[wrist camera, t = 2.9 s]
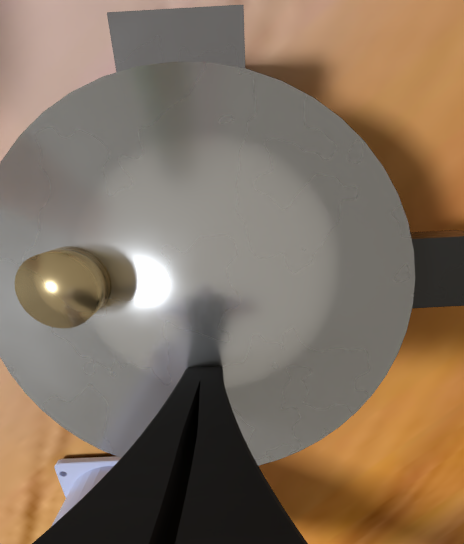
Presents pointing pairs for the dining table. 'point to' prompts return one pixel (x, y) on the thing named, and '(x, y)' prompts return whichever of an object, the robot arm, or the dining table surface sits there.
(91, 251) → the cooker lid
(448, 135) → the dining table surface
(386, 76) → the dining table surface
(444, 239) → the cooker pot
